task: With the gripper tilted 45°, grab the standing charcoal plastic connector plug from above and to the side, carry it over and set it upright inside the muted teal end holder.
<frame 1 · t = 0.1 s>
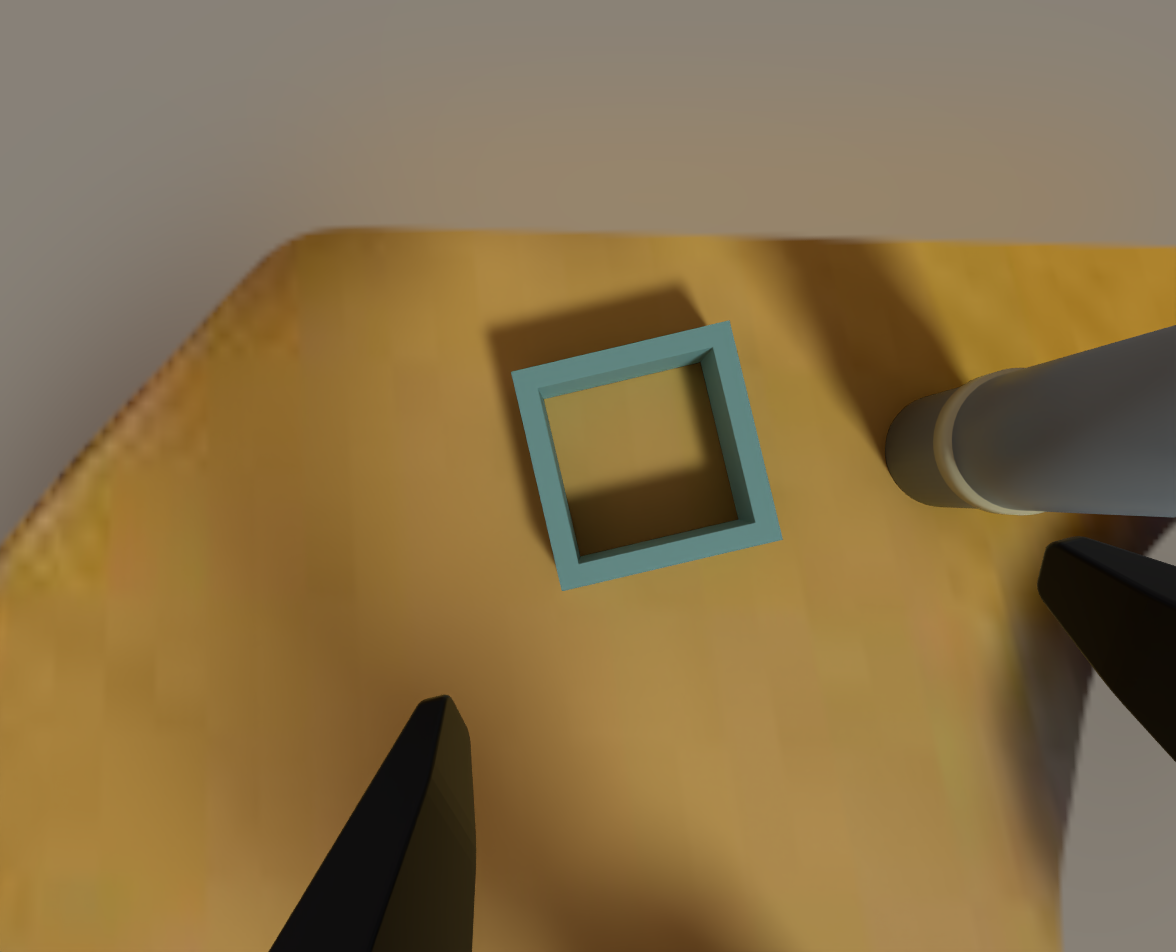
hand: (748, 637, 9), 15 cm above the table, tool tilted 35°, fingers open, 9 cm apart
end holder: (640, 459, 24), on the table
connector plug: (941, 450, 24), on the table
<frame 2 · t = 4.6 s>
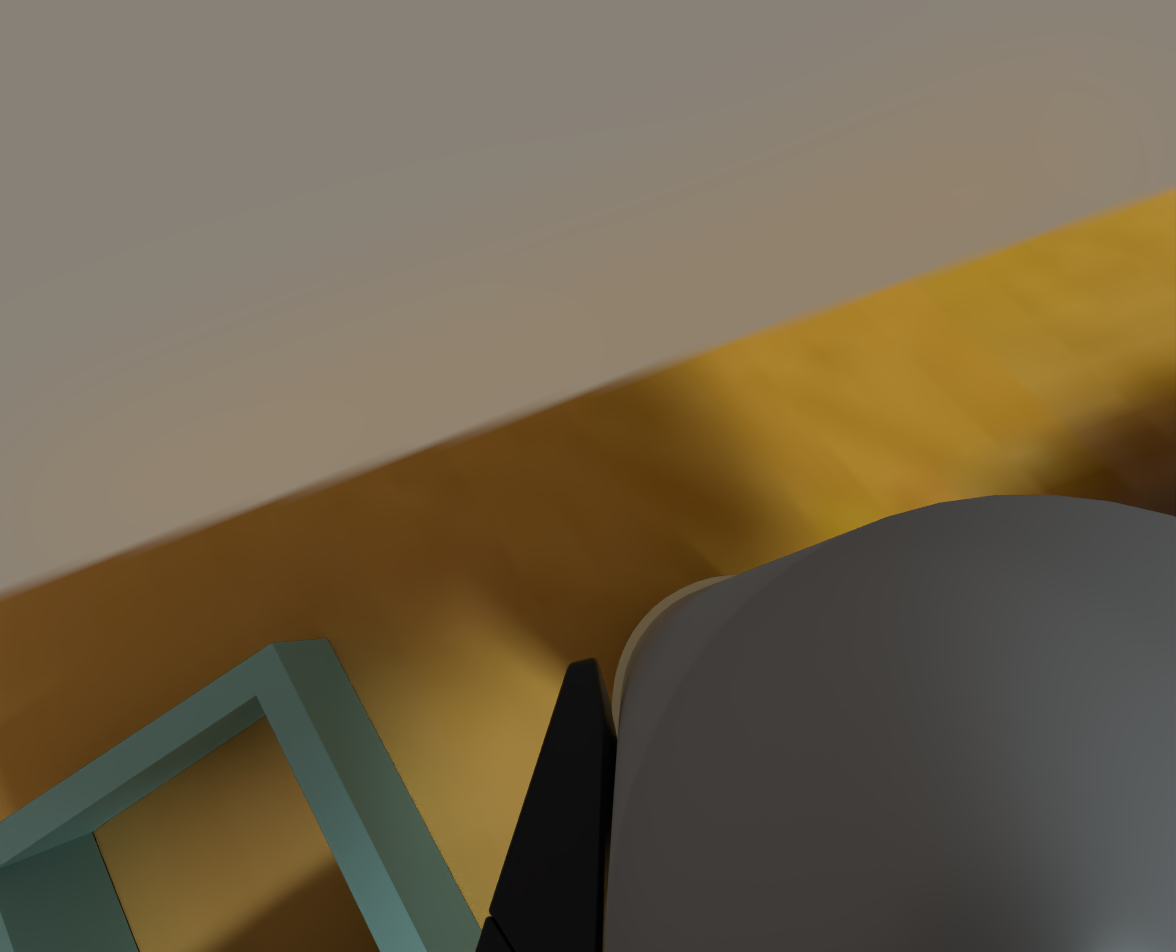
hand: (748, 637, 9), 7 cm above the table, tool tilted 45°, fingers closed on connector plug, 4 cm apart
end holder: (259, 876, 14), on the table
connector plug: (711, 684, 15), on the table, touching gripper
when the fingers open (8 cm above the table, at t = 8.9 s): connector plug drops 1 cm, resting in end holder.
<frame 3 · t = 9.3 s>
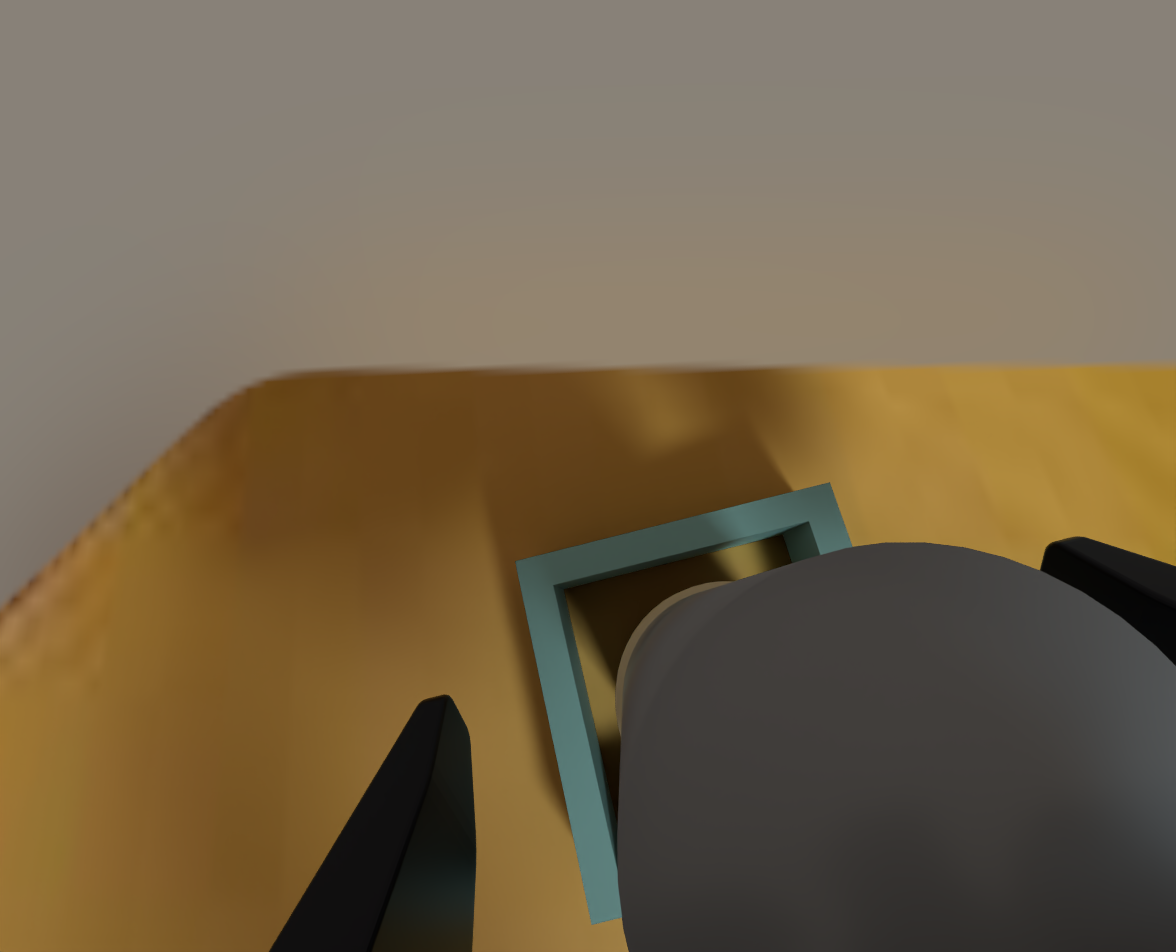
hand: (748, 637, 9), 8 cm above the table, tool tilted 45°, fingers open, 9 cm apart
end holder: (704, 677, 16), on the table
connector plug: (705, 678, 16), resting in end holder
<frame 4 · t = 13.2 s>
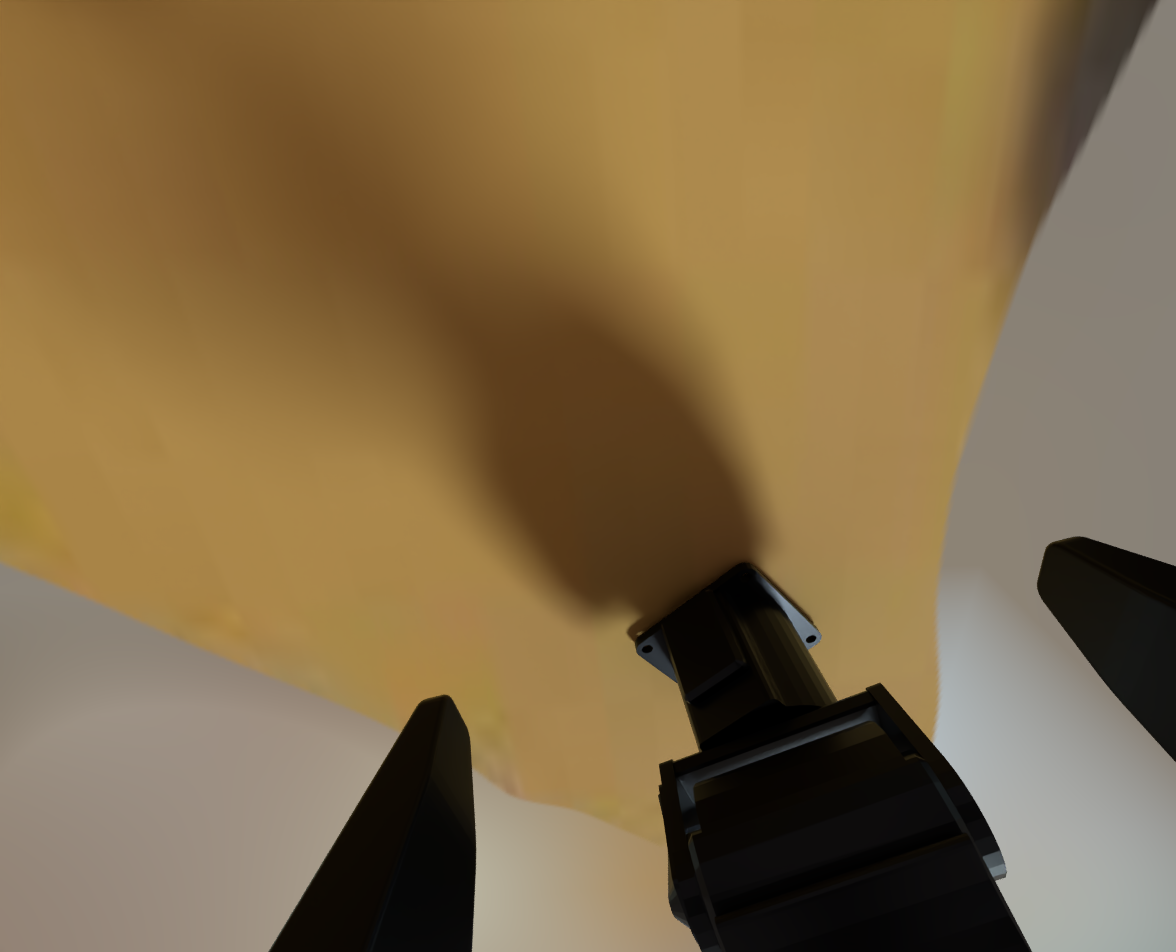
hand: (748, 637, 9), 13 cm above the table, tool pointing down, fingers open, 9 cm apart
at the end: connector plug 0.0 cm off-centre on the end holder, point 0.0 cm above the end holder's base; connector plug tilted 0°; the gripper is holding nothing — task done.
